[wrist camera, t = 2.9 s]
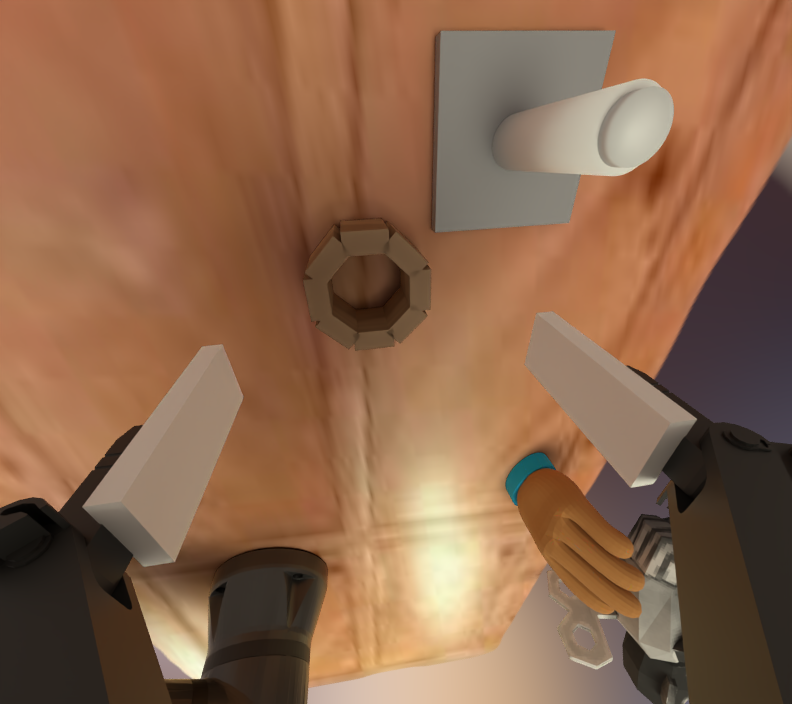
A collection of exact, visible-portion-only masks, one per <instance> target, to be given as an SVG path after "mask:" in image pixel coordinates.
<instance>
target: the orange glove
mask: <svg viewBox="0 0 792 704" xmlns="http://www.w3.org/2000/svg"><path fill="white" fill-rule="evenodd" d="M506 489H507V491H508V493H509V495H510V497H511V499H512V501H513V503H514V504H515V505H516V506H518V509H519V512H520V515H521V517H522V519H523V521H524V523H525V525H526V527H527V528H528V530H529V532H530V533H531V535H532V537H533V539H534V541H535V543H536V545H537V547H538V549H539V551H540V552H541V554H542V555H543V557H544V558H545V560H546V561H547V562H548V564H549V565H550V566H551V568H552V569H553V570H554V572H555V573H556V574H557V575H558V577H559V578H560V579H561V580H562V581H563V583H564V584H565V585H566V586H567V587H568V588H569V589H570V590H571V591H572V592H573V594H574V595H576V596H577V597H578V598H579V599H580V600H581V601H582V602H583V603H584V604H586V605H587V606H588V607H590V608H591V609H593V610H594V611H597V612H599V613H602V614H610V613H612V612H614V610H615V611H617V612H619V613H620V614H622V615H624V616H627V617H630V618H638V617H639V616H640V615H641V613H642V607H641V603H640V601H639V600H638V599H637V598H636V597H635V595H634V594H632V593H631V592H630V591H633V592H637V591H640V590H642V589H643V587H644V585H645V578H644V575H643V574H642V572H641V571H640V570H639V569H637V568H636V567H634V566H633V565H630V564H628V563H627V562H625V561H623V560H621V559H620V558H622V559H627V558H630V557H631V556H632V554H633V552H634V547H633V544H632V542H631V541H630V539H629V538H628V537H626V536H625V535H624V534H623V533H621V532H620V531H618V530H617V529H615V528H613V527H612V526H611V525H610V524H609V523H608V522H607V521H606V520H604V518H603V517H602V516H601V515H600V514H599V513H598V511H597V510H596V509H595V508H594V507H593V506H592V505H591V504H590V503H589V501H588V500H587V499H586V497H585V496H584V495H583V493H582V492H581V490H580V489H579V488H578V486H577V485H576V484H575V483H574V482H573V481H572V480H571V479H570V478H568V477H567V476H566V475H564V474H563V473H561V472H559V471H557V470H556V469H555V467H554V466H553V464H552V463H551V462H550V460H549V459H548V457H547V456H546V455H545V454H544V453H534V454H531V455H529V456H527V457H525V458H524V459H522V460H521V461H520V462H519V463H518V464H517V465H516V466H515V467H514V468H513V469H512V471H511V472H510V474H509V475H508V477H507V480H506Z"/></svg>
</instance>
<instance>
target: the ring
mask: <svg viewBox="0 0 792 704" xmlns="http://www.w3.org/2000/svg"><path fill="white" fill-rule="evenodd" d="M374 254H385V255H387V256H388V257H389V258H390V259H391V260H392V261H393V262H394V263H395V264H397V265H398V266H399V267H400V284H401V287H400V288H399V289H398V290H397V292H396V293H395V294H394V295H393V296H392V297H391V298H390V299H389V300H388V301H387V302H386V304H385V305H384V306H383V307H376V308H366V309H354V308H353V307H352V306H350V305H349V304H348V303H346V302H345V301H344V300H342V299H341V298H340V297H338V296H337V295H335V294H334V293H333V286H332V280H331V278H332V277H333V275H334V274H335V273H336V272H337V270H338V269H339V268H340V267H341V266H342V264H343V263H344V262H345V261H346V259H347V258H348V257H349V256H362V255H374ZM427 264H428V261H427V260H426V259H425V258H424V257H423V256H422V254H421V253H420V252H419V251H418V250H417V249H416V247H414V246H413V245H412V244H411V243H410V242H409V241H408V240H407V239H406V238H405V237H404V236H403V235H402V234H401V233H400V232H399V231H398V230H397V229H396V228H395V227H394V226H393V225H392V224H391V223H390V222H389V221H387V222H386V223H384V221H383V220H382V219H381V218H377V219H362V220H347V221H340V229H339V228H338V227H337V226H336V225H335V224H334V225H333V227H332V228H331V229H330V231H329V232H328V233H327V234H326V236H325V237H324V238H323V240H322V241H321V242H320V244H319V245H318V246H317V248H316V249H315V250H314V252H313V253H312V254H311V255H310V258H309V261H308V264H307V267H306V270H305V275H304V279H303V283H304V288H305V293H306V298H307V302H308V307H309V312H310V317H311V322H312V321H316V328H317V329H319V330H320V331H322V332H323V333H325V334H326V335H328V336H329V337H331V338H333V339H334V340H336V341H337V342H339V343H340V344H342V345H343V346H345V347H346V348H348V349H350V348H351V346H352V345H353V344H355V351H358V350H367V349H376V348H385V347H394V339H395V340H396V341H397V342H399V343H401V342H402V341H403V340H404V339H405V338H406V337H407V336H408V335H409V334H410V333H411V332H412V331H413V330H414V329H415V328H416V327H417V326H418V325H419V324H420V323H421V322H422V321H423V320H424V319H425V318H426V317H427V314H426V312H425V310H430V303H431V268H430V267H429V266H428V265H427Z"/></svg>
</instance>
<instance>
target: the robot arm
mask: <svg viewBox="0 0 792 704" xmlns="http://www.w3.org/2000/svg"><path fill="white" fill-rule="evenodd" d="M525 366H526V367H527V368H528V369H529V371H530V372H531V373H532V374H533V375H534V376H535V378H536V379H537V380H538V381H539V382H540V383H541V384H542V386H543V387H544V388H545V389H546V390H547V391H548V393H549V394H550V395H551V396H552V397H553V398H554V400H555V401H556V402H557V403H558V404H559V405H560V407H561V408H562V409H563V410H564V411H565V412H566V413H567V415H568V416H569V417H570V418H571V419H572V420H573V422H574V423H575V424H576V425H577V426H578V427H579V429H580V430H581V431H582V432H583V433H584V434H585V435H586V437H587V438H588V439H589V440H590V441H591V442H592V444H593V445H594V446H595V447H596V448H597V449H598V451H599V452H600V453H601V454H602V455H603V456H604V458H605V459H606V460H607V461H608V462H609V463H610V464H611V466H613V468H614V469H615V470H616V471H617V473H618V474H619V475H620V476H621V477H622V478H623V479H624V481H625V482H626V483H627V484H628V485H629V486H630V488H631V487H637V486H644V485H650V484H654V482H655V481H656V479H657V478H658V476H659V475H660V473H661V472H662V471H663V472H664V473H665V474H666V475H667V476H668V477H669V478H670V479H671V480H670V482H669V483H668V485H667V486H666V487H665V489H664V490H663V491H662V493H661V494H660V496H659V497H658V498H657V503H656V504H658V505H661V504H662V503H663V502H664V500H665V499H667V498H668V507H667V508H668V509H669V514H670V524H671V534H672V543H673V553H674V562H675V572H676V581H677V591H678V600H679V610H680V619H681V629H682V638H683V648H684V657H685V667H686V676H687V686H688V695H689V704H792V444H784V443H774V442H769V441H768V440H766V439H765V438H764V437H762V436H761V435H759V434H757V433H755V432H753V431H751V430H749V429H747V428H744V427H741V426H738V425H735V424H730V423H725V422H722V423H713V422H712V421H710V420H709V419H707V418H706V417H705V416H703V415H702V414H700V413H699V412H698V411H696V410H695V409H694V408H692V407H691V406H689V405H688V404H687V403H685V402H684V401H682V400H681V399H680V398H678V397H677V396H675V395H674V394H673V393H669V390H667V389H666V388H665V387H663V386H662V385H658V382H656V381H655V380H654V379H652V378H651V377H649V376H648V375H647V374H645V373H643V372H641V371H639V370H637V369H635V368H632V367H630V366H625V365H624V364H623V363H621V362H620V361H619V360H617V359H616V358H615V357H613V356H612V355H611V354H609V353H608V352H606V351H605V350H604V349H602V348H601V347H600V346H598V345H597V344H596V343H594V342H593V341H592V340H590V339H589V338H588V337H586V336H585V335H584V334H582V333H581V332H580V331H578V330H577V329H576V328H574V327H573V326H572V325H570V324H569V323H568V322H566V321H565V320H564V319H562V318H561V317H560V316H558V315H557V314H556V313H554V312H553V311H552V312H542V313H536V317H535V321H534V325H533V330H532V334H531V338H530V343H529V347H528V352H527V356H526V360H525ZM243 398H244V397H243V394H242V392H241V389H240V387H239V384H238V382H237V379H236V377H235V374H234V372H233V369H232V367H231V364H230V362H229V359H228V357H227V354H226V352H225V349H224V347H223V344H221V345H211V346H202V347H201V349H200V350H199V351H198V353H197V354H196V355H195V357H194V358H193V359H192V361H191V362H190V363H189V365H188V366H187V367H186V369H185V370H184V371H183V373H182V374H181V375H180V377H179V378H178V379H177V381H176V382H175V383H174V385H173V386H172V387H171V389H170V390H169V391H168V393H167V394H166V395H165V397H164V398H163V399H162V401H161V402H160V403H159V405H158V406H157V407H156V409H155V410H154V412H153V413H152V414H151V416H150V417H149V418H148V420H147V421H146V422H145V424H144V425H140V426H134V427H132V428H131V429H130V430H129V431H127V432H126V433H125V434H124V435H122V436H121V437H120V438H118V439H117V440H116V441H115V443H114V444H113V445H112V446H111V448H110V449H109V450H108V451H107V453H106V454H105V457H104V458H102V459H101V460H100V461H99V463H98V464H97V465H96V466H95V470H92V471H91V473H90V474H89V475H88V476H87V478H86V479H85V480H84V481H83V483H82V484H81V485H80V486H79V488H78V489H77V490H76V491H75V493H74V494H73V495H72V496H71V497H70V499H69V500H68V501H67V502H66V504H65V505H64V506H63V507H62V509H61V510H60V511H59V512H57V511H56V510H55V509H54V508H53V507H52V506H51V505H50V504H48V503H47V502H46V501H45V500H44V499H42V498H34V497H32V498H28V499H23V500H18V501H16V502H14V503H11V504H9V505H6V506H4V507H2V508H0V704H307V699H308V682H309V662H310V648H311V640H312V637H313V634H314V630H315V627H316V624H317V621H318V617H319V614H320V611H321V607H322V604H323V601H324V598H325V594H326V590H327V576H328V569H327V566H326V564H325V563H324V562H323V561H322V560H321V559H320V558H318V557H317V556H315V555H313V554H310V553H307V552H304V551H300V550H294V549H264V550H257V551H252V552H248V553H245V554H242V555H239V556H237V557H234V558H232V559H230V560H228V561H227V562H225V563H224V564H223V565H221V566H220V567H219V568H218V570H217V571H216V573H215V575H214V579H213V582H212V585H211V588H210V592H209V605H208V653H207V657H206V661H205V665H204V668H203V672H202V676H201V679H164V678H163V675H162V671H161V669H160V665H159V662H158V659H157V656H156V653H155V650H154V647H153V644H152V641H151V638H150V635H149V632H148V629H147V626H146V623H145V620H144V617H143V614H142V611H141V608H140V605H139V602H138V599H137V596H136V593H135V590H134V587H133V584H132V581H131V578H130V577H129V576H128V574H127V573H126V572H125V570H126V568H127V566H128V564H129V563H130V561H131V559H132V557H134V558H135V559H136V560H137V561H138V562H139V563H140V564H141V565H142V566H143V567H147V566H154V565H160V564H166V563H172V562H175V561H176V558H177V556H178V554H179V551H180V549H181V547H182V544H183V542H184V539H185V537H186V535H187V532H188V530H189V527H190V525H191V523H192V520H193V518H194V515H195V513H196V511H197V508H198V506H199V503H200V501H201V499H202V496H203V494H204V491H205V489H206V487H207V484H208V482H209V479H210V477H211V475H212V472H213V470H214V468H215V465H216V463H217V460H218V458H219V456H220V453H221V451H222V448H223V446H224V444H225V441H226V439H227V436H228V434H229V432H230V429H231V427H232V424H233V422H234V420H235V417H236V415H237V412H238V410H239V408H240V405H241V403H242V400H243Z"/></svg>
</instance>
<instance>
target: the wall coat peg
mask: <svg viewBox="0 0 792 704" xmlns="http://www.w3.org/2000/svg"><path fill="white" fill-rule="evenodd" d="M614 36H615V31H440V33H439V34H438V35H437V36H436V52H435V98H434V145H433V192H432V230H433V231H434V232H435V233H436V232H450V231H464V230H478V229H492V228H505V227H519V226H533V225H547V224H561V223H569V221H570V217H571V213H572V209H573V205H574V201H575V197H576V192H577V188H578V184H579V180H580V176H581V174H583V175H602V176H619V175H623V174H625V173H628V172H630V171H631V170H633V169H635V168H636V167H637V166H639V165H641V164H642V163H644V162H646V161H647V160H648V159H650V158H651V157H652V156H653V155H654V154H655V153H656V152H657V151H658V149H659V148H660V147H661V146H662V144H663V143H664V141H665V139H666V137H667V135H668V133H669V131H670V128H671V125H672V121H673V115H674V105H673V100H672V97H671V95H670V94H669V92H668V91H667V90H665V89H664V88H662V87H661V86H660V85H659V84H658V83H657V82H655V81H653V80H650V79H637V80H633V81H630V82H626V83H623V84H619V85H615V86H612V87H608V88H605V89H602V85H603V81H604V77H605V73H606V69H607V64H608V60H609V56H610V52H611V48H612V44H613V40H614Z"/></svg>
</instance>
